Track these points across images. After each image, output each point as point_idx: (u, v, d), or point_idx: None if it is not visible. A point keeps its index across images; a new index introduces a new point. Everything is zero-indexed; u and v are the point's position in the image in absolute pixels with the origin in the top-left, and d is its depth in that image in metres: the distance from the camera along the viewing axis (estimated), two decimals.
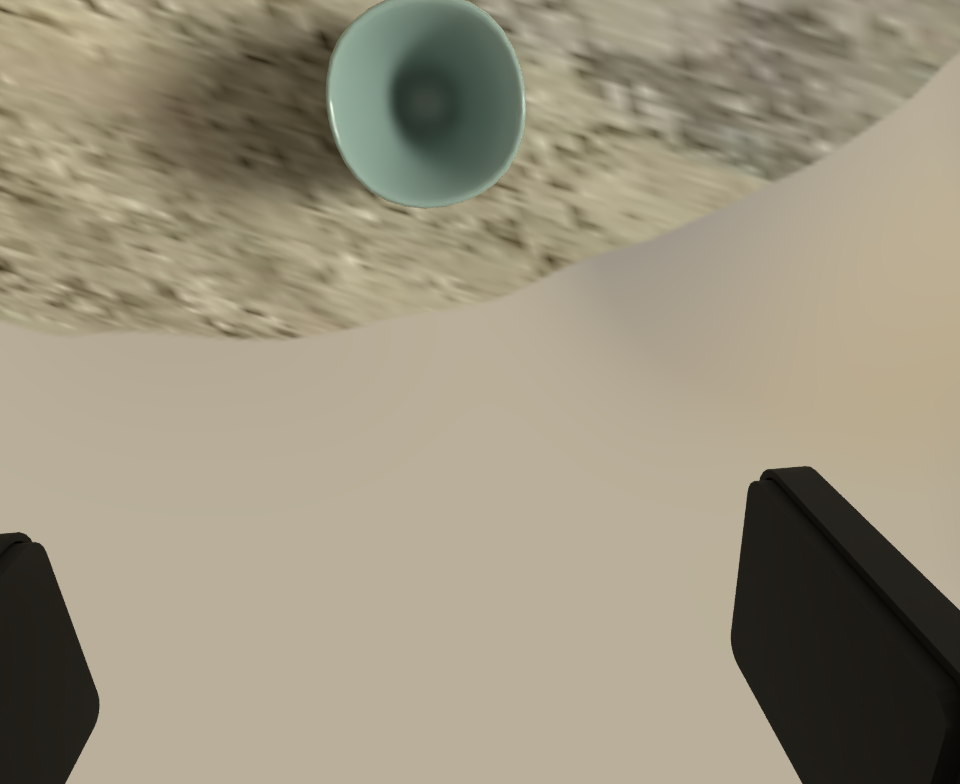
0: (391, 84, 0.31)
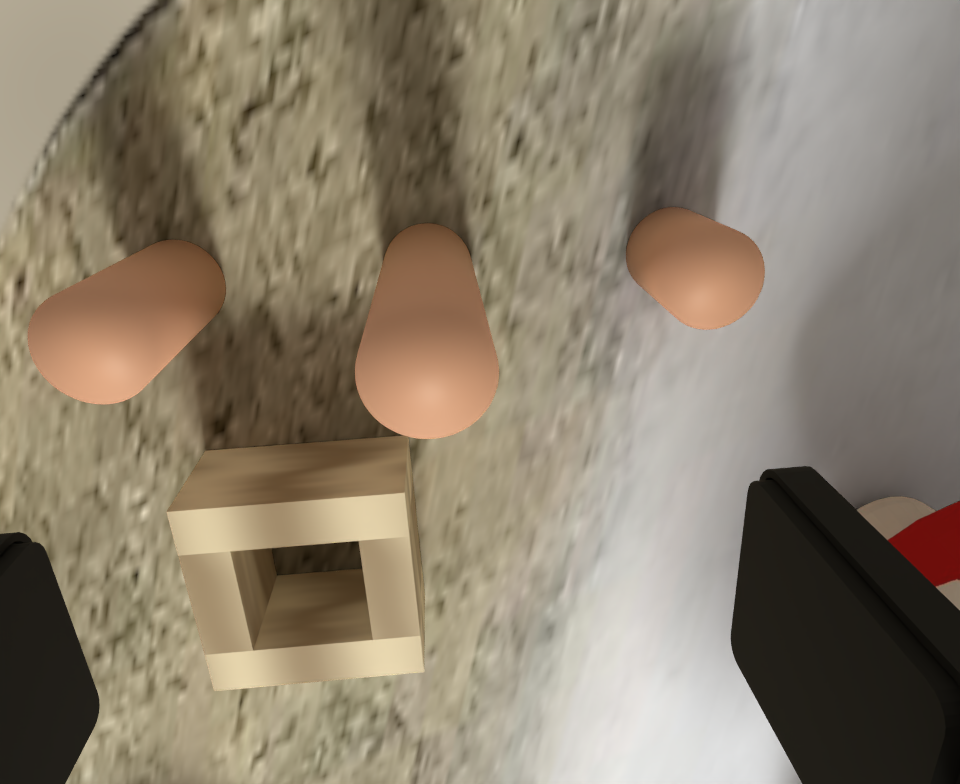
0: None
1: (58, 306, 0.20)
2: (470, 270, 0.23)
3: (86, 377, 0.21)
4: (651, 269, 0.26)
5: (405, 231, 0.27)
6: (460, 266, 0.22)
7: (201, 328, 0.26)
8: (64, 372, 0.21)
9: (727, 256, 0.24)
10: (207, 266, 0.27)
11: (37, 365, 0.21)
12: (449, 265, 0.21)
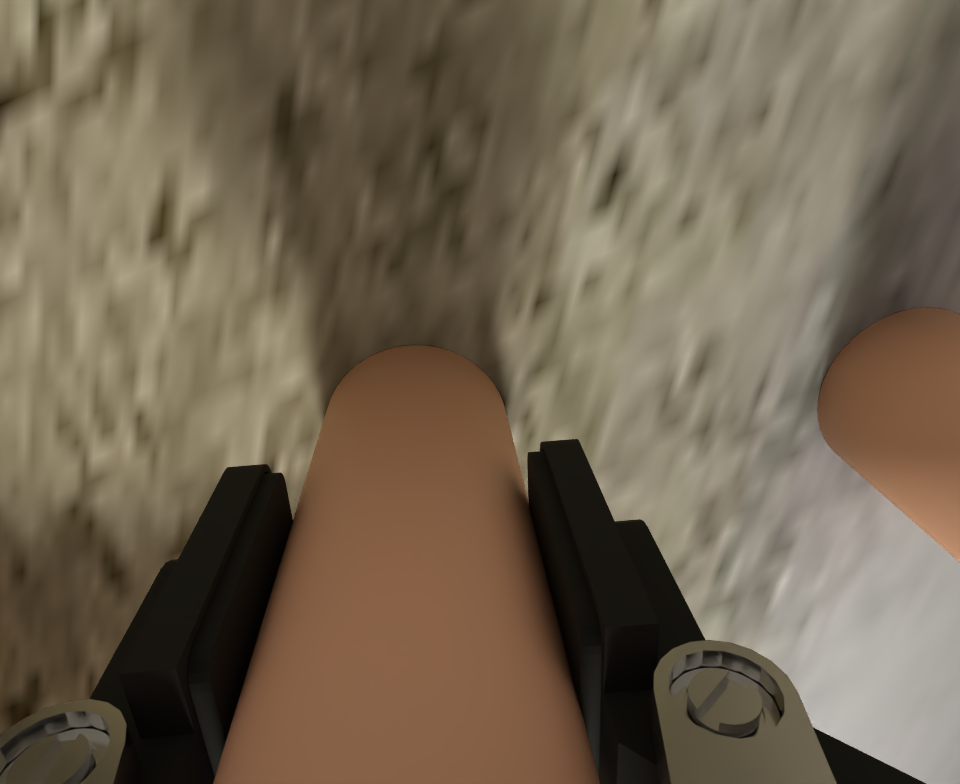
0: None
1: None
2: (526, 534, 0.09)
3: None
4: (936, 480, 0.11)
5: (367, 370, 0.13)
6: (506, 565, 0.08)
7: None
8: None
9: None
10: None
11: None
12: (477, 598, 0.07)
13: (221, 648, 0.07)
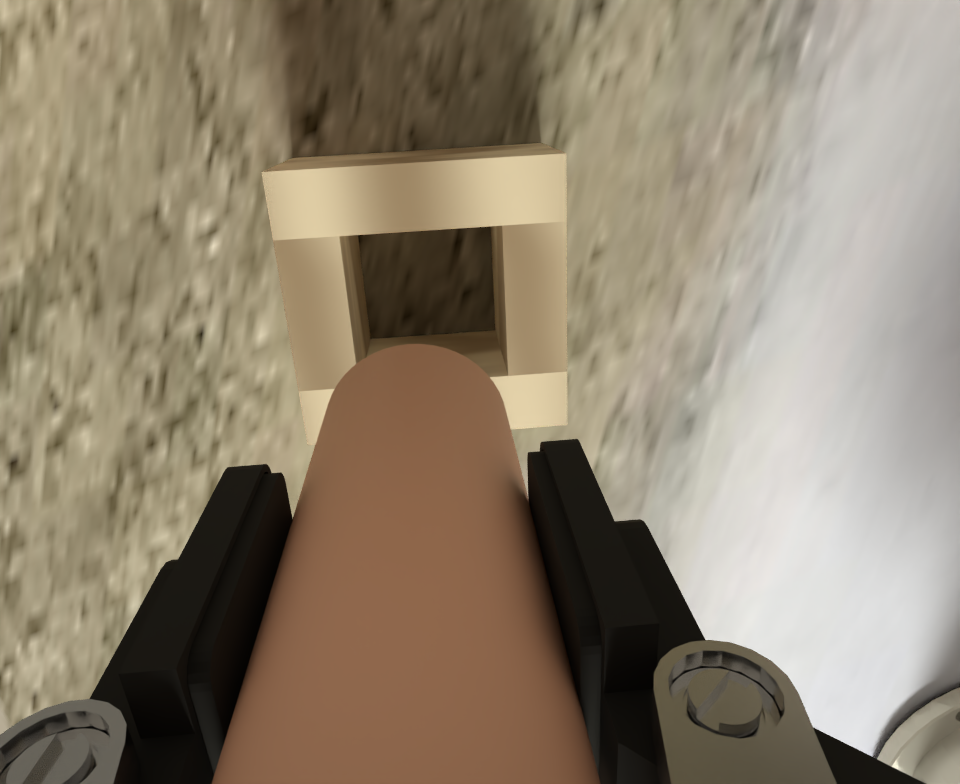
0: None
1: None
2: (526, 533, 0.09)
3: None
4: None
5: (367, 368, 0.12)
6: (506, 563, 0.08)
7: None
8: None
9: None
10: None
11: None
12: (477, 596, 0.07)
13: (221, 648, 0.07)
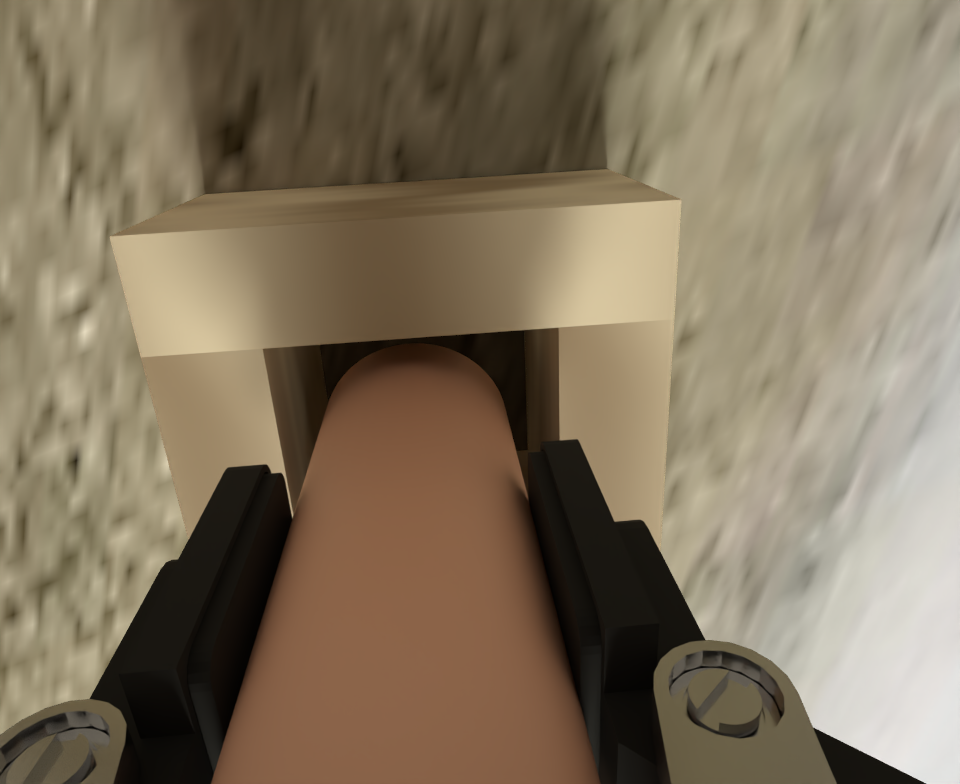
0: None
1: None
2: (526, 532, 0.09)
3: None
4: None
5: (367, 368, 0.12)
6: (506, 562, 0.08)
7: None
8: None
9: None
10: None
11: None
12: (477, 595, 0.07)
13: (221, 648, 0.07)
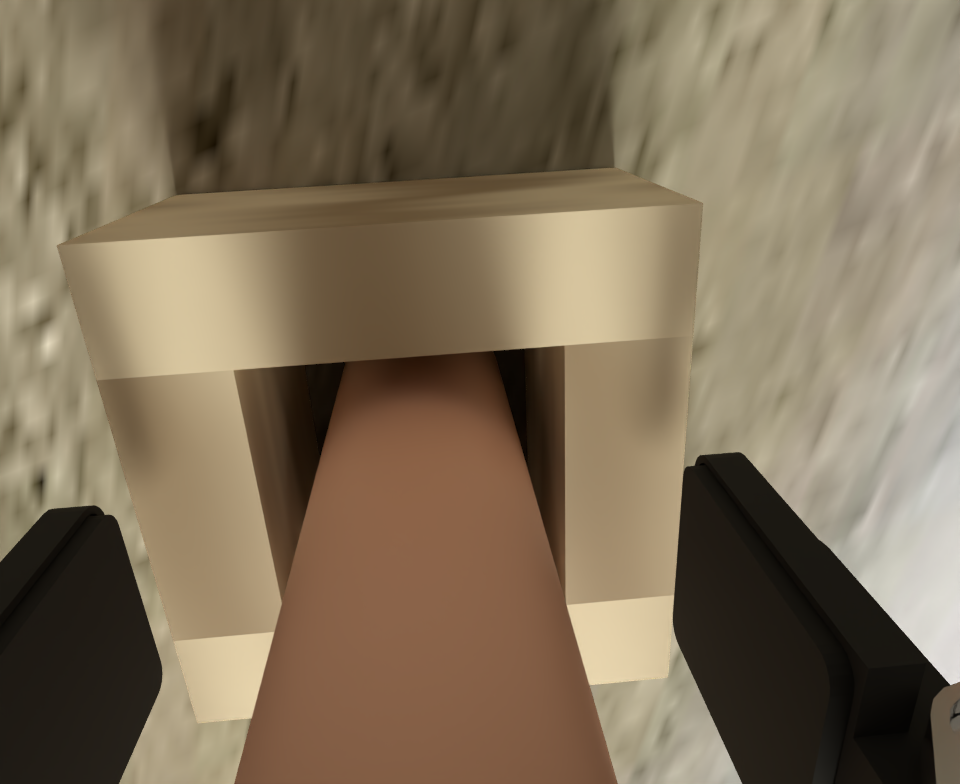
0: None
1: None
2: (513, 444, 0.11)
3: None
4: None
5: None
6: (497, 458, 0.10)
7: None
8: None
9: None
10: None
11: None
12: (475, 473, 0.09)
13: None
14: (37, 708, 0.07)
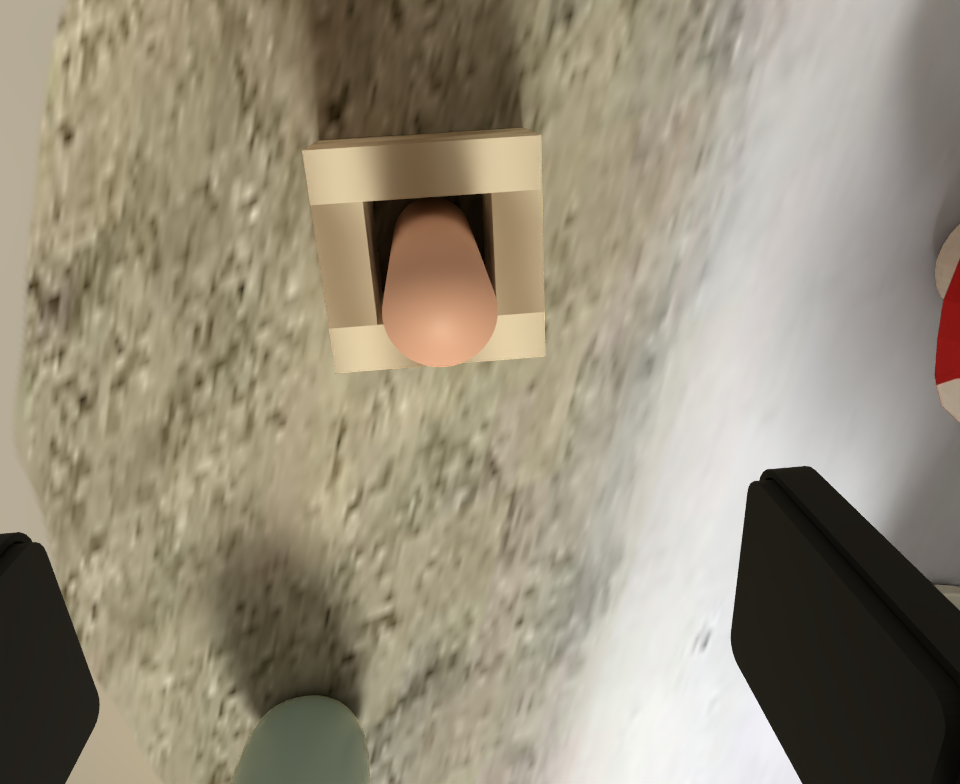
0: None
1: None
2: (471, 235, 0.28)
3: None
4: None
5: (413, 204, 0.31)
6: (463, 230, 0.26)
7: None
8: None
9: None
10: None
11: None
12: (454, 229, 0.26)
13: None
14: None
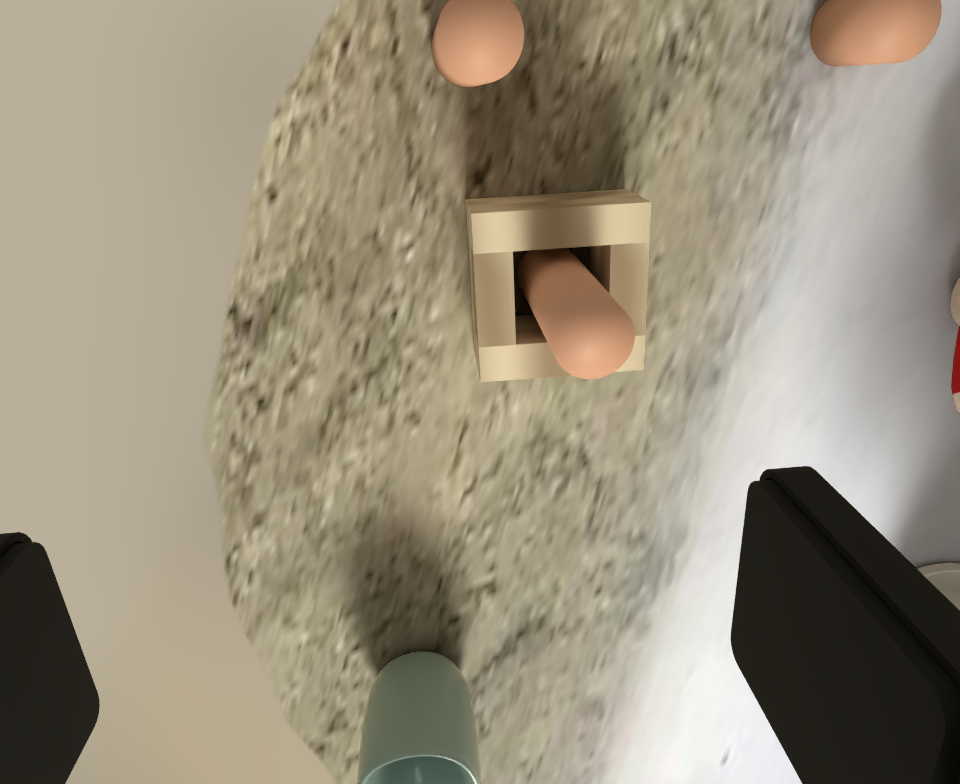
0: None
1: (460, 1, 0.28)
2: None
3: (474, 61, 0.29)
4: (848, 21, 0.34)
5: None
6: (591, 274, 0.35)
7: None
8: (459, 58, 0.29)
9: (914, 0, 0.32)
10: None
11: (440, 55, 0.29)
12: (587, 274, 0.34)
13: None
14: None
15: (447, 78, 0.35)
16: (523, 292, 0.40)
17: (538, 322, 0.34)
